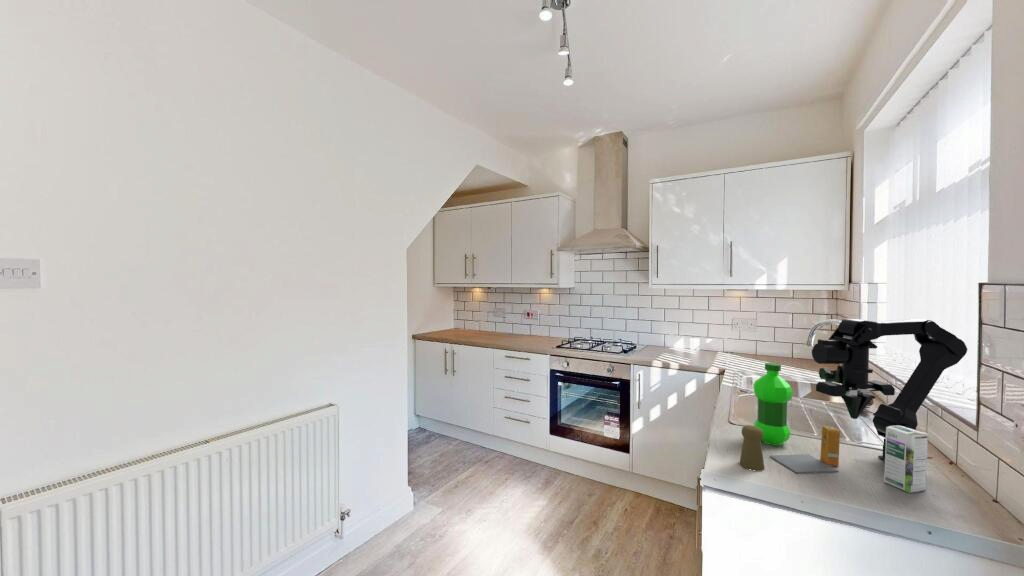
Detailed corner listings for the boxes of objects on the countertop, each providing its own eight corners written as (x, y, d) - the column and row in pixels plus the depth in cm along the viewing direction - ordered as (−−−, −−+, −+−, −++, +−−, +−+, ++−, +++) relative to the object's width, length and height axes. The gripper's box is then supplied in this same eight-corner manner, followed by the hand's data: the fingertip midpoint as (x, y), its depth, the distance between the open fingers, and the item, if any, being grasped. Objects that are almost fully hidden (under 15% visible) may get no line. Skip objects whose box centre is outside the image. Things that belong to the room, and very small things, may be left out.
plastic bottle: (786, 438, 130) (788, 362, 130) (793, 451, 121) (795, 369, 120) (751, 433, 135) (752, 359, 134) (755, 445, 125) (756, 366, 124)
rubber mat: (808, 455, 118) (808, 454, 118) (838, 472, 108) (838, 470, 108) (769, 456, 117) (769, 455, 117) (796, 473, 107) (796, 471, 107)
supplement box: (840, 466, 111) (841, 430, 111) (826, 465, 112) (827, 430, 112) (833, 461, 114) (833, 426, 114) (819, 459, 115) (820, 425, 115)
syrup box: (882, 482, 103) (884, 426, 102) (900, 479, 104) (901, 424, 104) (909, 493, 97) (911, 434, 97) (927, 490, 99) (929, 432, 98)
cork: (766, 465, 112) (767, 426, 111) (761, 473, 107) (762, 432, 107) (742, 458, 116) (742, 421, 116) (736, 466, 111) (737, 427, 111)
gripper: (859, 357, 121) (858, 408, 122) (801, 358, 120) (800, 409, 121) (897, 365, 110) (895, 421, 111) (833, 366, 109) (832, 423, 110)
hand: (853, 418), depth 113 cm, fingers closed
